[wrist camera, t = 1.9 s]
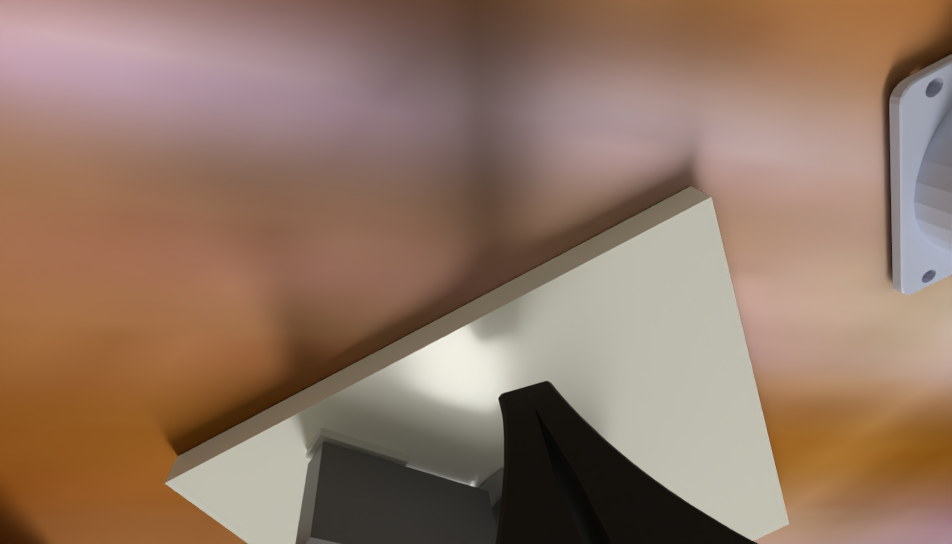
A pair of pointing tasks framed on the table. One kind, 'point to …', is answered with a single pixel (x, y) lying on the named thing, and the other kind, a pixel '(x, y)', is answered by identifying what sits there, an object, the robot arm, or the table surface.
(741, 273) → the table surface
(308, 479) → the door lever handle
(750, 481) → the plate and post
